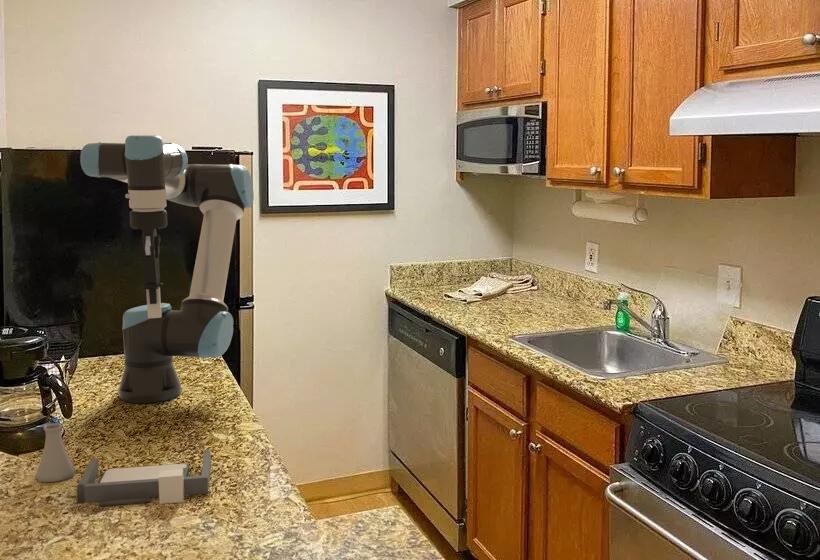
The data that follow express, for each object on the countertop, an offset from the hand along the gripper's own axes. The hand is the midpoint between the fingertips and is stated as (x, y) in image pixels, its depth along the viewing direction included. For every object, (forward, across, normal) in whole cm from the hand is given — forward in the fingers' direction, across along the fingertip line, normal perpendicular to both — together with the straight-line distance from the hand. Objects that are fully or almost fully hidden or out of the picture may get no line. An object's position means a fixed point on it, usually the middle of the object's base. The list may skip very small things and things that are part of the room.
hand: (154, 317), depth 167 cm
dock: (+25, +30, 0) cm, 39 cm away
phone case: (+26, +27, -1) cm, 37 cm away
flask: (+25, +22, -18) cm, 38 cm away
